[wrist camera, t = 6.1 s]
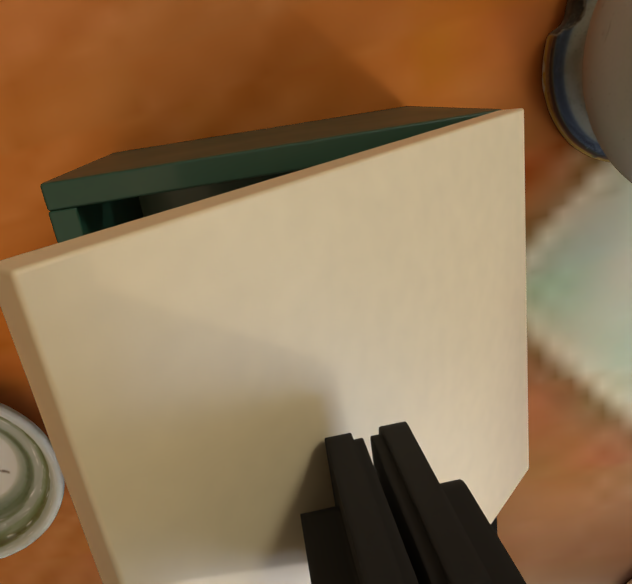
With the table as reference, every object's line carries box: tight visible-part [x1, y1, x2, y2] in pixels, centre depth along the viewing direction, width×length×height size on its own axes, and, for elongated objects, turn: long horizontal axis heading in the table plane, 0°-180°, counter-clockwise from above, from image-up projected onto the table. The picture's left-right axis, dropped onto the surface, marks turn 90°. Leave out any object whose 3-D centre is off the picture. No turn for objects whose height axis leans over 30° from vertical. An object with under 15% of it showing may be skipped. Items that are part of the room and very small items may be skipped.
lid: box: [0, 108, 529, 584], centre depth 13 cm, size 14×13×1 cm
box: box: [40, 106, 501, 243], centre depth 23 cm, size 14×13×10 cm
